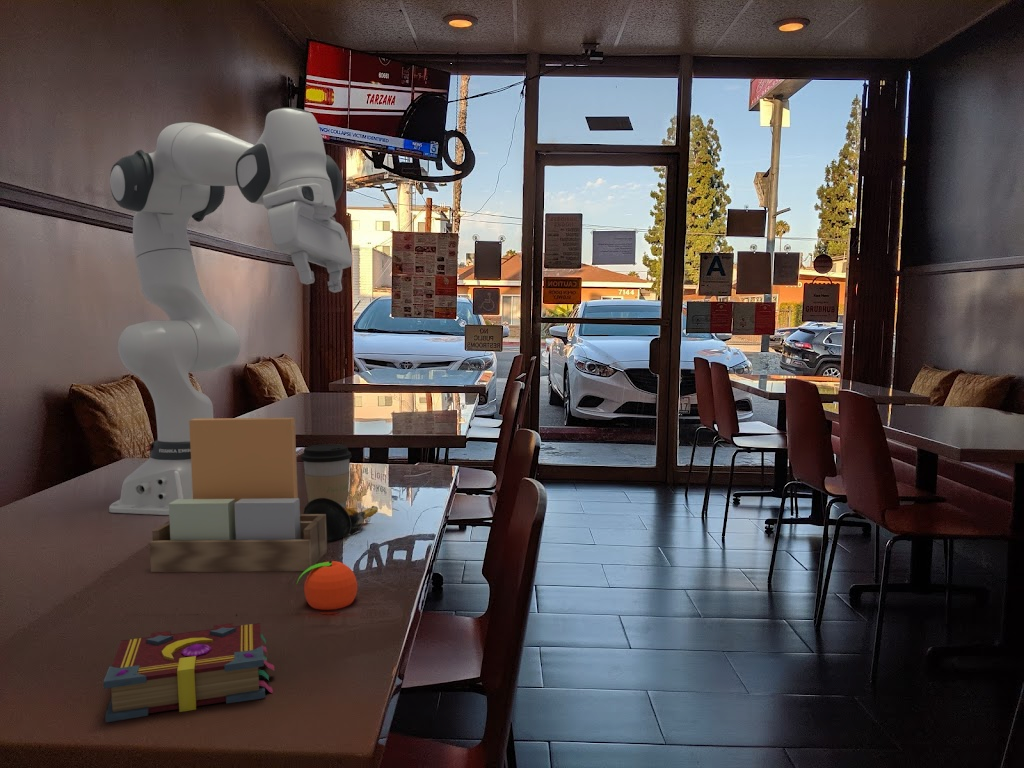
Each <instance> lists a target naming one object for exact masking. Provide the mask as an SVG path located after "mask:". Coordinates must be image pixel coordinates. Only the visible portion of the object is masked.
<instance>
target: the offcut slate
mask: <svg viewBox="0 0 1024 768" xmlns="http://www.w3.org/2000/svg"><path fill="white" fill-rule="evenodd" d="M300 505H301V503H300V498H299V497H298V498H269V499H240V500H239V501H237V502H236V503H234V506H235V529H236V540H292V539H301V531H300V514H301V510H300V508H301V507H300Z"/></svg>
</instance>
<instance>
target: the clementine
mask: <svg viewBox="0 0 1024 768" xmlns="http://www.w3.org/2000/svg"><path fill="white" fill-rule="evenodd" d="M309 570H310V571H309ZM307 572H309V574H308V575H307V577H306V579H305V581H304V588H303V589H304V590H303V591H304V597H305V600H306V602H307V603H308V605H309V606H310V608H312V609H316V610H322V612H319V614H322V615H329V616H330V615H337V614H340V613H341V612H338V611H337V612H333V611H332V610H338V609H342V608H345V607H348V606H350V605H351V604H353V603H354V601H355V599H356V596H357V593H358V582H357V577H356V575H355V573H354V571H353V570H352V569H351V567H349V566H348V565H346V564H345V563H343V562H341V561H335V560H329V561H328V560H327V561H324V562H319V563H316V564H315V565H313V566H311V567H309V568H308V569H306V570H305V571H302V573H301V574H300V575H299V577H298V579H297V582H296V586H297V585H298V582H300V581H299V580H300V579H301V578H302V577H303V575H305V574H306V573H307ZM323 611H324V612H323ZM325 611H326V612H325ZM327 611H331V612H327Z"/></svg>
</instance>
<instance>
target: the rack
mask: <svg viewBox="0 0 1024 768" xmlns="http://www.w3.org/2000/svg"><path fill="white" fill-rule="evenodd" d="M300 531H301V539H292V540H170V521H169V520H168V521H166V522H164V523H163V524H162V525H159V526H158V527H156V528H155V529H153V530H151V537H152V540H150V542H149V557H150V559H149V560H150V562H149V563H150V572H151V573H183V572H184V573H192V572H193V573H194V572H196V573H197V572H200V573H203V572H206V573H207V572H208V573H209V572H227V573H228V572H230V573H231V572H304V571H305V570H306V569H308V568H309V567H311V566H313V565H315V564H318V562H319V561H320V560H321V558H322V557H323V556H324V555H325V554H326V553H327V552H328V542H327V531H326V514H303V513H300ZM308 572H311V570H309V571H308Z"/></svg>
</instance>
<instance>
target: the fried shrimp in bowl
mask: <svg viewBox="0 0 1024 768" xmlns="http://www.w3.org/2000/svg"><path fill="white" fill-rule="evenodd" d="M378 510H379V508H378V507H377V506H376V505H372V506H371V507H368V508H367V509H364V510H362V511H357V510H356V509H355V508H354V507H349V508H348V507H346V508H345V507H343V506H341V505H340V504H339V503H337V502H336V501H333V500H331V499H327V498H318V499H314V500H312V501H310V502H309V503H307V504H306V506H305V507H304V509H303V513H302V514H326V531H327V543H329V542H334V541H337V540H339V539H342V538H343V537H347V536H353V535H355V534H356V533H361V532H362V531H361V530H360V528H361V526H362V525H363V524H364V522H365V519H367V518H371V517H373V516H375V514H377V512H378Z"/></svg>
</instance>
